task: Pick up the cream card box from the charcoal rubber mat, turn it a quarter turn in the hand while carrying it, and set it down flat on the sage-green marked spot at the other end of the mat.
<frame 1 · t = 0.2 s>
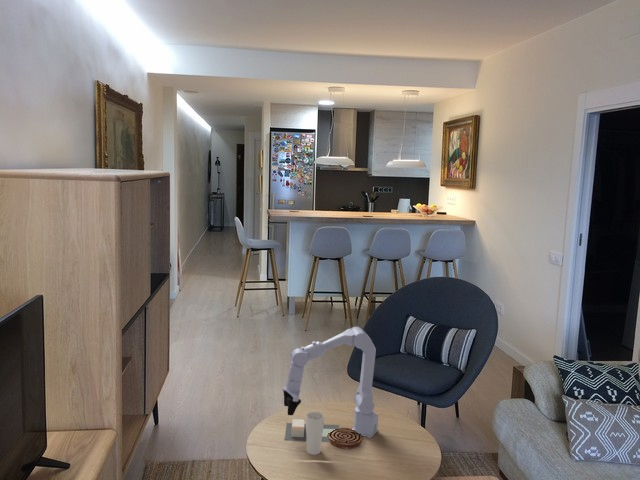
hand: (288, 410, 215), 10 cm above the table, tool pointing down, fingers open, 7 cm apart
mat: (312, 433, 218), on the table
card box: (297, 431, 218), point 1 cm above the table, touching mat
white cylinder: (313, 452, 204), on the table
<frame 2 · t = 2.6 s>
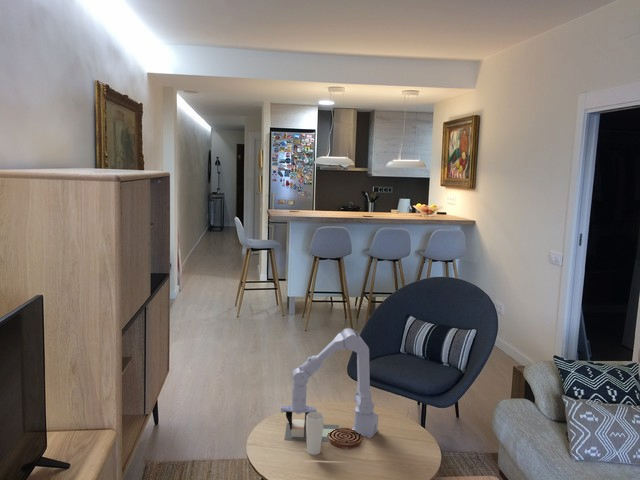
hand: (298, 429, 218), 2 cm above the table, tool pointing down, fingers closed on card box, 5 cm apart
card box: (297, 431, 218), point 1 cm above the table, touching gripper, mat
everything else where it was.
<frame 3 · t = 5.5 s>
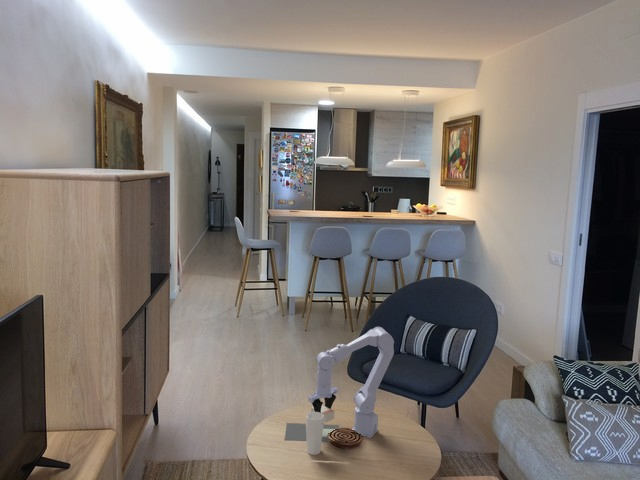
hand: (322, 413, 217), 9 cm above the table, tool pointing down, fingers closed on card box, 5 cm apart
card box: (322, 416, 217), point 8 cm above the table, touching gripper
everything else where it was.
when the fingers open (3 cm above the table, at t = 8.2 s): card box drops 1 cm, resting on mat.
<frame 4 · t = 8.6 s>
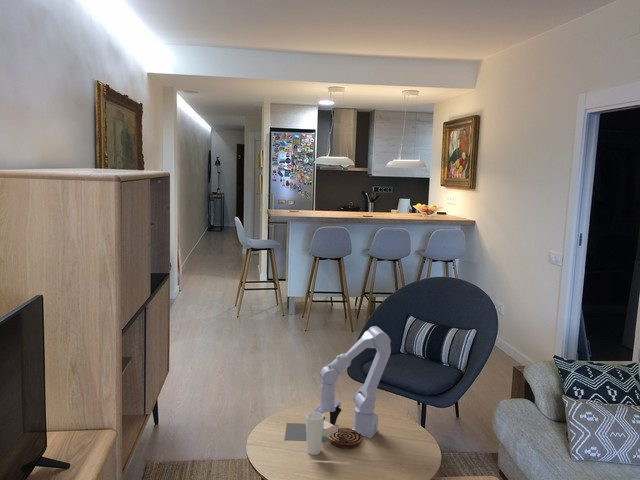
hand: (326, 427, 218), 3 cm above the table, tool pointing down, fingers open, 7 cm apart
card box: (325, 432, 218), point 1 cm above the table, touching mat
everything else where it was.
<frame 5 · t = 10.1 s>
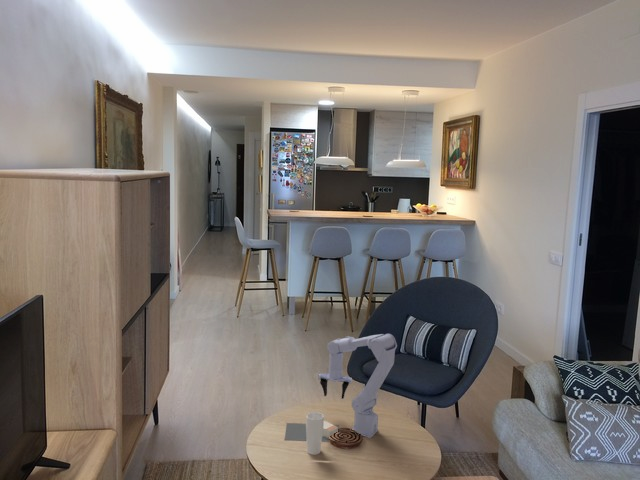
hand: (334, 396, 232), 9 cm above the table, tool pointing down, fingers open, 7 cm apart
nothing on the table moved.
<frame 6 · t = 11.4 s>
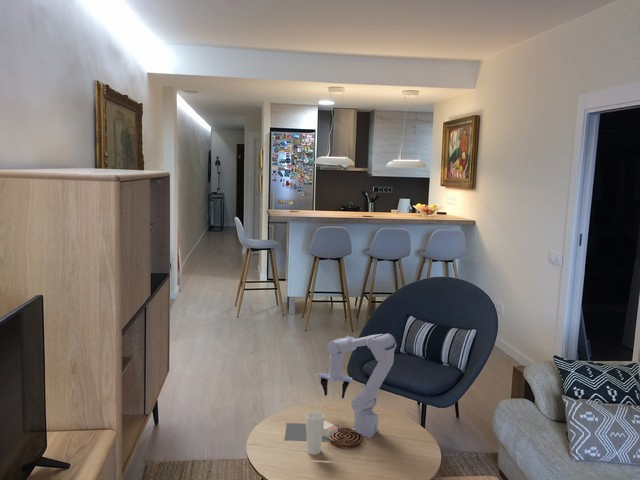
hand: (334, 396, 232), 9 cm above the table, tool pointing down, fingers open, 7 cm apart
nothing on the table moved.
at the end: card box 0.1 cm from the target spot on the mat, point 0.7 cm above the mat's base; card box tilted 0°; the gripper is holding nothing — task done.
